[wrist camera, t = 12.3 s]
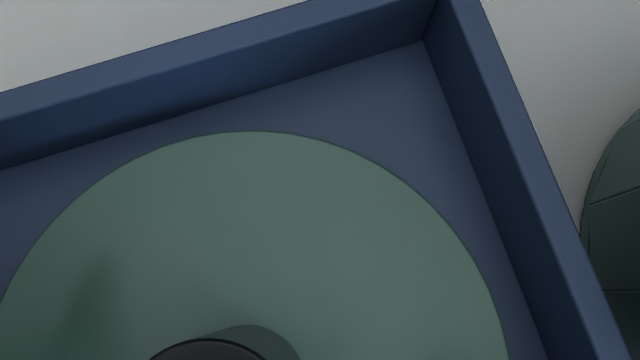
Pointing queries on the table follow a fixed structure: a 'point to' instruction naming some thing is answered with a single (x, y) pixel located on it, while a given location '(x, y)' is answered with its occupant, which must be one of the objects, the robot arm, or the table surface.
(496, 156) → the tray
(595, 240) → the pot
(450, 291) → the lid
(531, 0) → the table surface
